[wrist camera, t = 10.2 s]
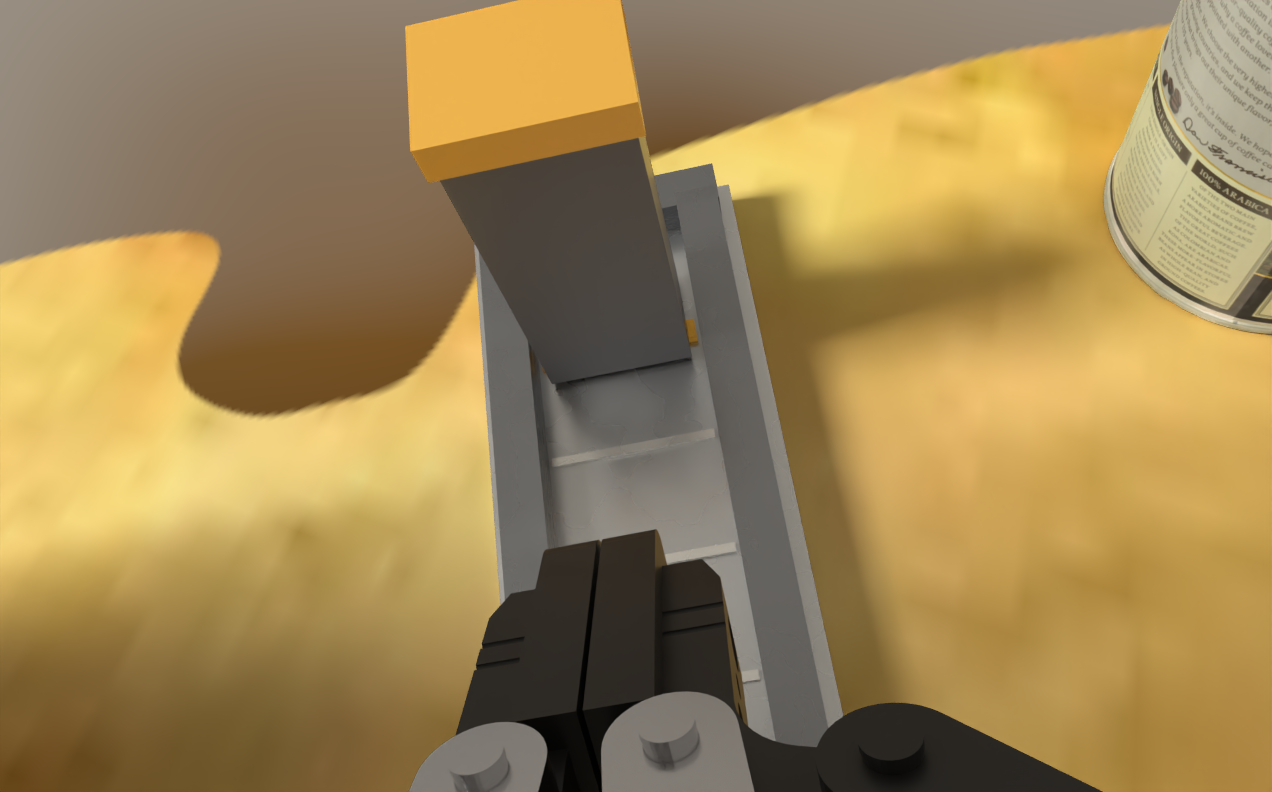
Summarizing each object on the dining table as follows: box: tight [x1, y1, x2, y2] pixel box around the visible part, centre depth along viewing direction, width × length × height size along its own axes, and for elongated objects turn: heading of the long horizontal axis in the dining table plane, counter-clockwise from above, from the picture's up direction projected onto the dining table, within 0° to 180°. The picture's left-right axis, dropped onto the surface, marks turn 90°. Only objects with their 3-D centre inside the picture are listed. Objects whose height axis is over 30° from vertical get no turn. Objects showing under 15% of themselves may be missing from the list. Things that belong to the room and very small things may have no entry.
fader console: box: [474, 164, 843, 747], centre depth 33 cm, size 24×10×2 cm, turn 8°
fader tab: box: [405, 0, 692, 384], centre depth 30 cm, size 4×5×13 cm
